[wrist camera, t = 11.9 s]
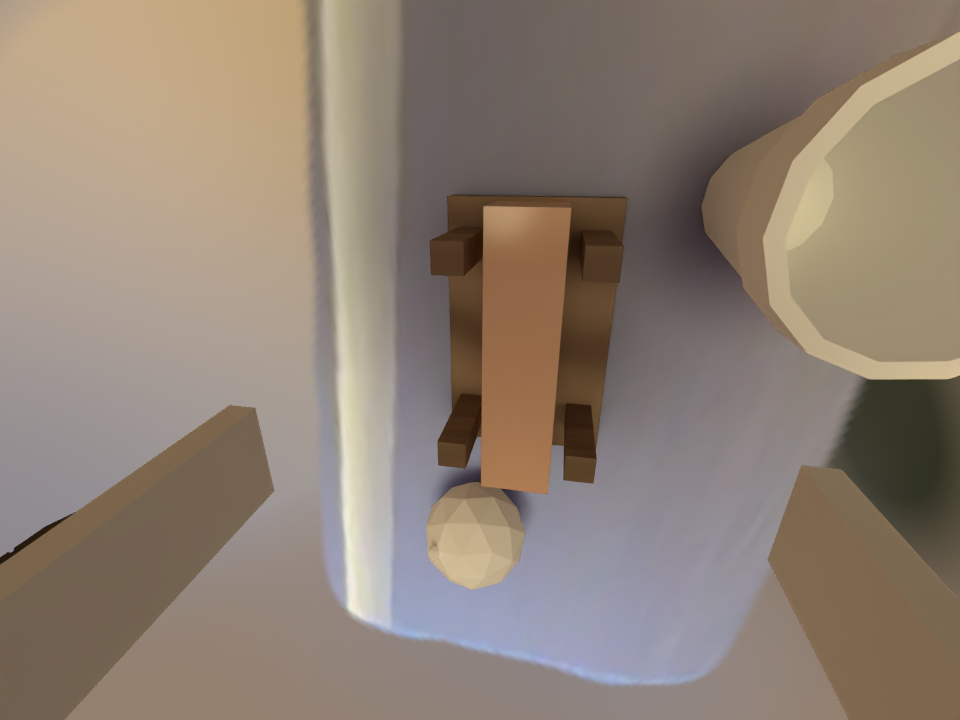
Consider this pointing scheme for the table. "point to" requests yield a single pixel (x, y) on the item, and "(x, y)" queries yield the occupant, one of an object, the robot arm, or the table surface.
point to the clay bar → (521, 339)
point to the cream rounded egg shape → (474, 535)
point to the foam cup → (856, 219)
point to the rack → (581, 333)
